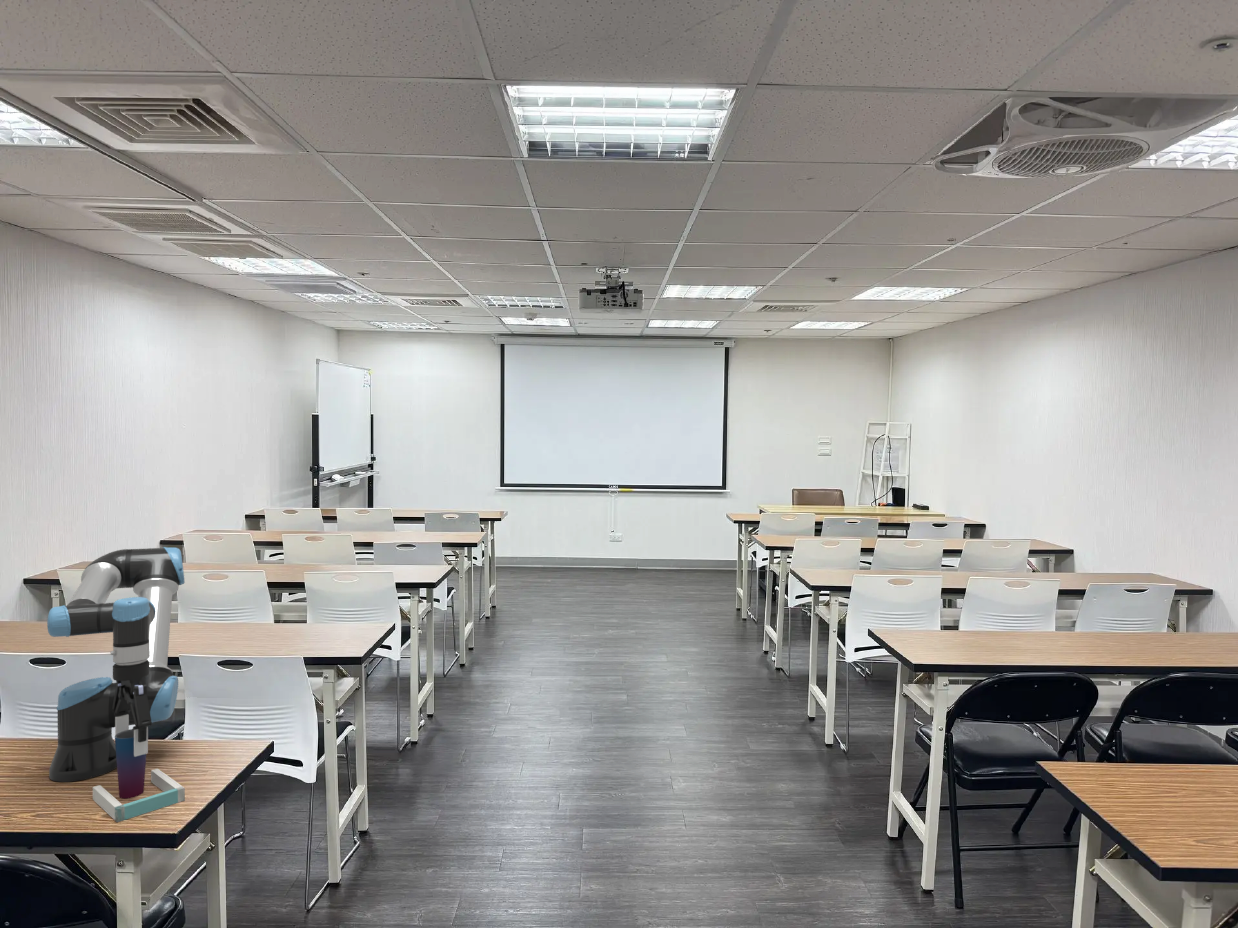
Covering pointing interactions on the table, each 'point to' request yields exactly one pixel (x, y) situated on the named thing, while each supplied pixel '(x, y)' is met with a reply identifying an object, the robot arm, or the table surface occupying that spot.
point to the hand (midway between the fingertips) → (131, 748)
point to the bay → (122, 812)
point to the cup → (129, 766)
